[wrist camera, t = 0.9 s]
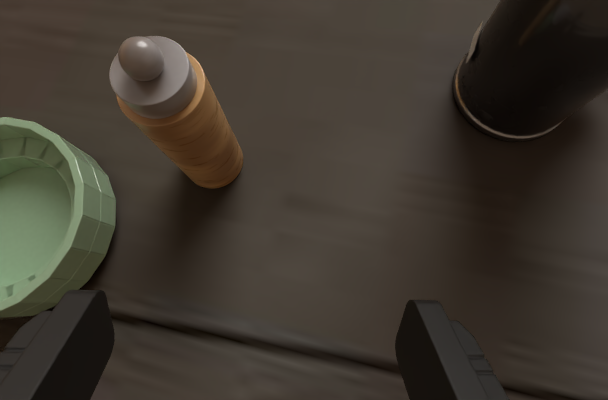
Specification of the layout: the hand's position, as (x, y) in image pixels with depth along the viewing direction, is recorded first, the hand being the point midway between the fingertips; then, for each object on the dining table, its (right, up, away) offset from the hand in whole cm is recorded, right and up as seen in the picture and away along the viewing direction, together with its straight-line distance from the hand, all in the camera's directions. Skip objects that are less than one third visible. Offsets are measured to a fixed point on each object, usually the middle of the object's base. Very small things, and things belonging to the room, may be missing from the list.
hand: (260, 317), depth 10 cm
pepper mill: (-6, +6, +20) cm, 22 cm away
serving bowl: (-20, +1, +19) cm, 28 cm away
